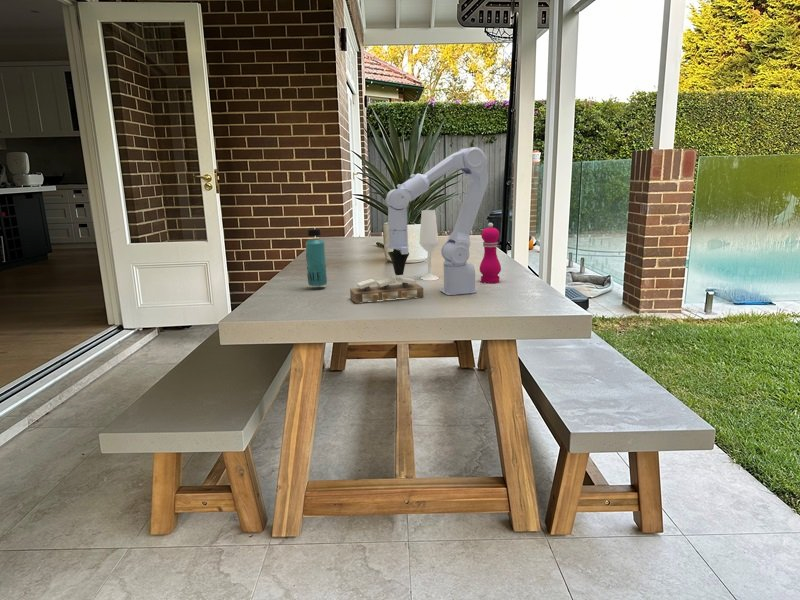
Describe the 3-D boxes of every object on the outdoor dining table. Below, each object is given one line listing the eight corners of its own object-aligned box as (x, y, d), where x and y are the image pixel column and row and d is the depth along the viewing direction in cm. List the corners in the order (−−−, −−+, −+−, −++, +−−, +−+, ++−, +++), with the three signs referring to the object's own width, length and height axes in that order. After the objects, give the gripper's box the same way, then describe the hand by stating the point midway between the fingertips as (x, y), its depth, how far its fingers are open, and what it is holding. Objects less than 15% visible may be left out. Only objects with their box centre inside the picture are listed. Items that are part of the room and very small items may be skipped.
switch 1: (373, 281, 168) (372, 278, 168) (376, 284, 164) (375, 280, 163) (357, 286, 167) (356, 283, 167) (360, 288, 163) (359, 285, 162)
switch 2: (392, 279, 169) (391, 276, 169) (395, 282, 165) (395, 279, 165) (376, 284, 168) (376, 281, 168) (380, 287, 164) (379, 284, 164)
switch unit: (415, 292, 174) (415, 279, 173) (424, 297, 166) (423, 284, 165) (350, 298, 169) (349, 284, 168) (355, 304, 161) (355, 290, 160)
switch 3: (410, 281, 171) (411, 278, 171) (415, 284, 167) (415, 280, 167) (395, 279, 170) (396, 276, 170) (399, 282, 166) (400, 278, 165)
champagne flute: (433, 280, 192) (432, 211, 186) (416, 279, 195) (415, 211, 190) (442, 277, 197) (441, 209, 192) (425, 276, 201) (424, 209, 195)
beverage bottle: (325, 285, 189) (322, 227, 184) (329, 289, 183) (325, 229, 178) (306, 287, 187) (302, 228, 182) (309, 291, 181) (305, 230, 176)
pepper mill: (479, 279, 191) (479, 221, 187) (500, 279, 190) (501, 221, 186) (479, 283, 184) (479, 223, 180) (501, 283, 183) (502, 223, 179)
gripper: (379, 228, 170) (380, 271, 173) (391, 233, 156) (392, 279, 160) (401, 227, 172) (402, 270, 175) (414, 231, 158) (415, 278, 161)
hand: (399, 274), depth 167 cm, fingers closed
